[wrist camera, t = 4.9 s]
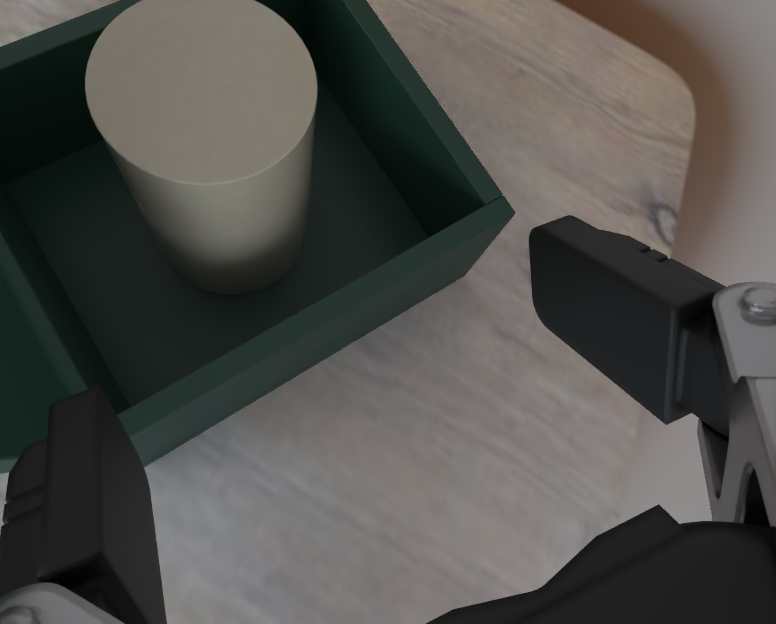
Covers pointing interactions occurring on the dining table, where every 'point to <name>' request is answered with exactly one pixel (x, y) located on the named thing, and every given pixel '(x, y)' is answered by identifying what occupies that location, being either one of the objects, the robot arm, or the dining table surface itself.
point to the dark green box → (220, 311)
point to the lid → (22, 383)
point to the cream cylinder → (210, 134)
